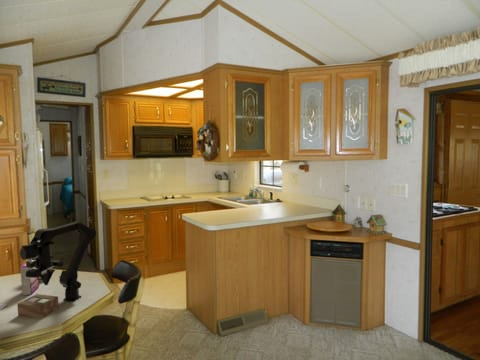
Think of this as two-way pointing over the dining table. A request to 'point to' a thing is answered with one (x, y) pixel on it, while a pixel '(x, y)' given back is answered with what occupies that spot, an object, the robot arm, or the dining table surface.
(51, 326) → the dining table surface
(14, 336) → the dining table surface
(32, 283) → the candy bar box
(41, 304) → the walnut block
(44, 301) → the sage peg
